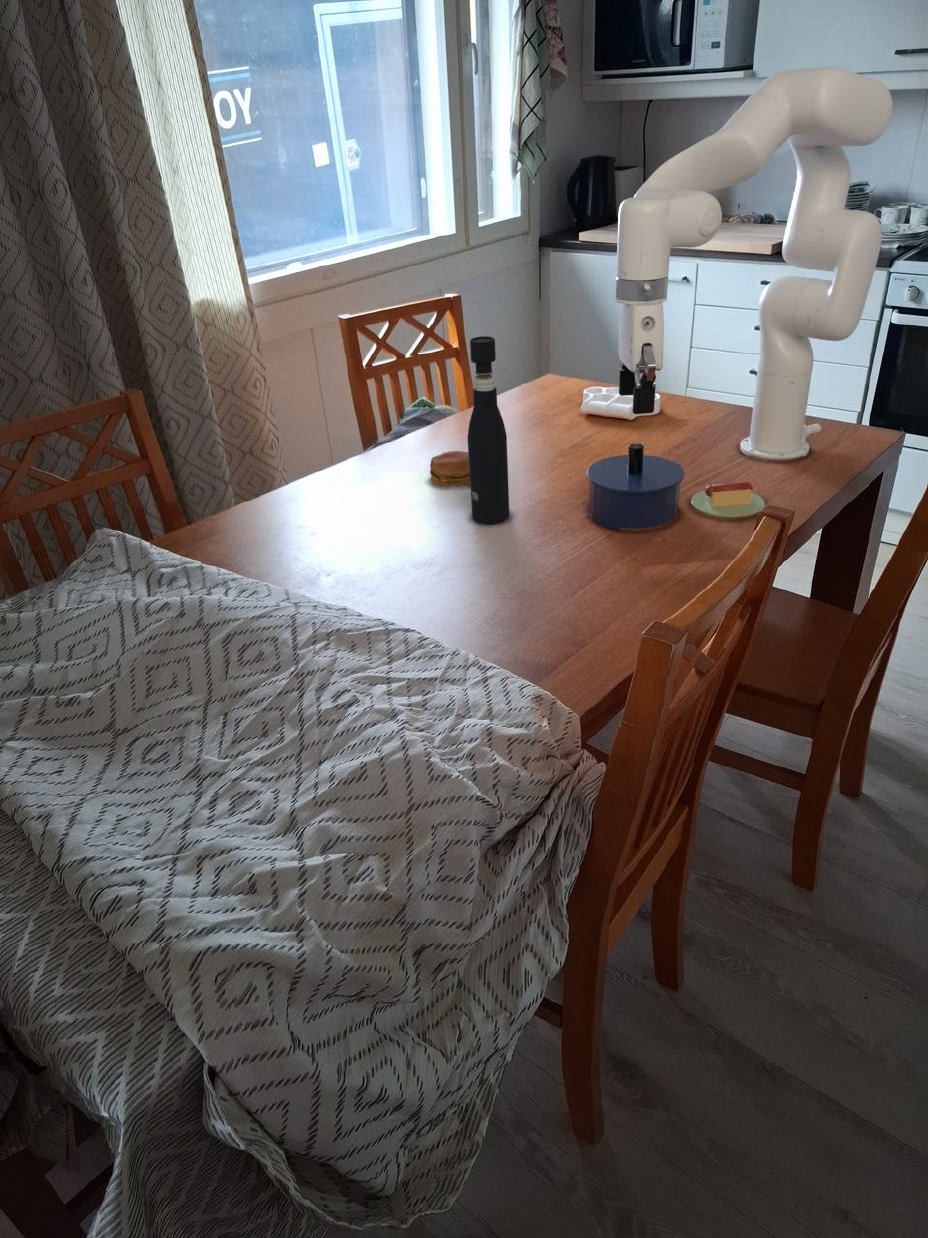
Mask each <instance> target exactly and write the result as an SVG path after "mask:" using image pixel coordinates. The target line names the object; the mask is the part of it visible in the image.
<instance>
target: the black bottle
mask: <svg viewBox="0 0 928 1238" xmlns="http://www.w3.org/2000/svg"><path fill="white" fill-rule="evenodd" d="M469 349H470V362H471V363H473V364H475V372H474V373H475V375H476V376H474V380H473V383H474V384H473V386H474V388H473V389H472V398H473V409H472V412H471V415H470V419H469V423H468V429H467V430H468V431H467V452H468V455H469V472H470V485H469V487H470V488H469V489H470V500H471V501H470V502H471V503H470V505H471V518H472V520H473V521H474V522H475V523H476V524H479V525H485V526H491V525H492V526H493V525H494V526H495V525H500V524H503V523H504V522H506V521H508V520H509V518H510V494H509V493H510V491H509V464H508V462H509V461H508V437H507V430H506V426H505V422H504V419H503V416H502V414H501V411H500V408H499V406H498V390H497V387H495V385H496V383H495V380H496V379H495V377H494V375H492V374H493V366H492V365H493V364H492V363H493V362H496V360H497V357H496V338H495V337H492V336H486V335H484V336H483V335H482V336H475V337H472V338H470V340H469Z"/></svg>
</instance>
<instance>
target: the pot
mask: <svg viewBox="0 0 928 1238" xmlns="http://www.w3.org/2000/svg"><path fill="white" fill-rule="evenodd" d="M680 489H681V482H680V483H679V484H678V485H676V486H674V487H672V488H670V489H667V490H663V491H659V492H653V493H641V494H631V493H619V492H613V491H609V490H605V489H602V488H600V487H597V486H595V485H594V484H592V483H591V482H590V481H589V517H590V519H591V520H592V521H593V522H594V523H595V524H597V525H598V526H601V527H602V528H605V529H608V530H612V531H617V532H621V529H627V530H628V529H630V530H631V529H633V530H635V529H636V530H642V529H650V528H656V527H660V526H663V525H666V524H668V523H670V522H672V521H673V520H674V519H675V518H676V517H677V516H678V514H679V505H680V504H679V503H680Z"/></svg>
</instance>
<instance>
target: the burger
mask: <svg viewBox="0 0 928 1238" xmlns="http://www.w3.org/2000/svg"><path fill="white" fill-rule="evenodd" d="M429 468H430V471H429V474H430V483H432V484H433V485H435V486H437V487H442V488H443V487H444V488H447V487H449V488H450V487H451V486H452V487H463V486H470V472H469V455H468V451H464V450H463V451H462V450H451V451H446V452H442V453H441V454H438V455H435V456H432V458H431V459H430V464H429Z"/></svg>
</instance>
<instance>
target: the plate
mask: <svg viewBox="0 0 928 1238" xmlns="http://www.w3.org/2000/svg"><path fill="white" fill-rule="evenodd" d="M705 497H706V493H705V489H704V490H701V491H698V492H697V493H695V494H693V496H692V497H691V501H690V502H691V505H692V506H693V507H694V508H695V509H697V510H698V511H700V512H702V513H705V514H708V515H712V516H715V517H716V516H717V517H726V518H739V517H747V516H751V515H754V514H757V513H759V512H761V511H762V510H763V509H764V508H765V506H766V505H765V504H766V503H765V500H764V499H763V498H762V497H761V496H760V495H758V494H757V493H754V492H752V495H751V504H747V505H735V506H723V507H711V506H710V504H709V503H708V502H707V500H706V499H705Z"/></svg>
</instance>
